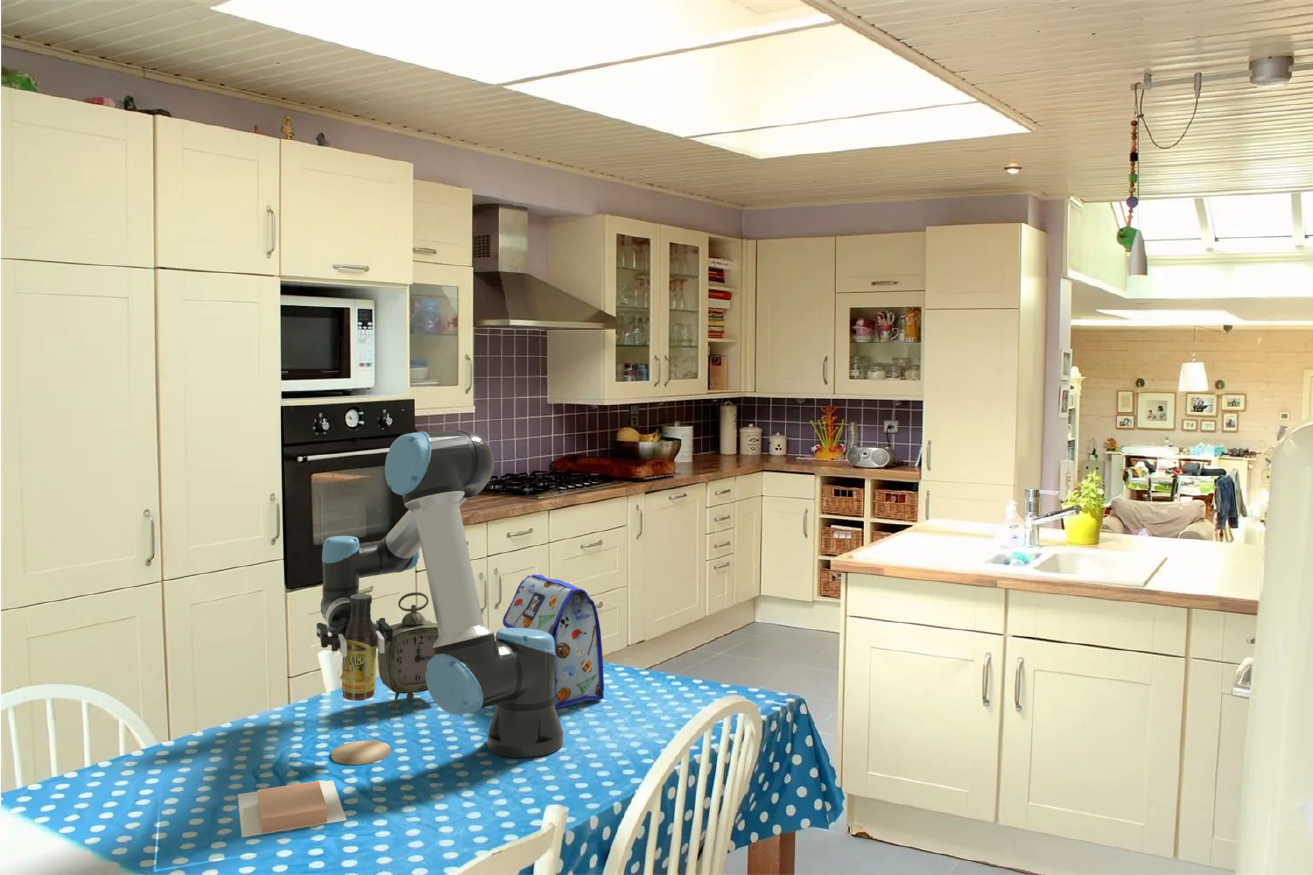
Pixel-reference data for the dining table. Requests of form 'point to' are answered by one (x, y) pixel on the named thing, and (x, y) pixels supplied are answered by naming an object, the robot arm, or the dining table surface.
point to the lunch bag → (563, 634)
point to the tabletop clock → (408, 653)
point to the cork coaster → (361, 752)
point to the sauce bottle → (359, 651)
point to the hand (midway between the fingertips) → (363, 647)
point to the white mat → (253, 827)
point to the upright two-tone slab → (291, 806)
